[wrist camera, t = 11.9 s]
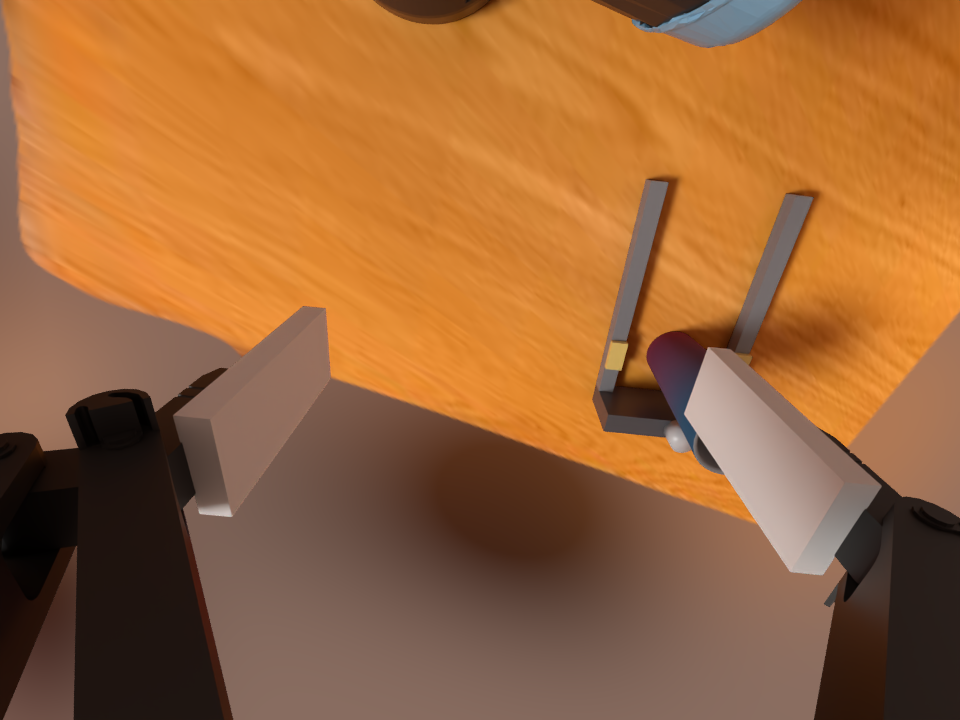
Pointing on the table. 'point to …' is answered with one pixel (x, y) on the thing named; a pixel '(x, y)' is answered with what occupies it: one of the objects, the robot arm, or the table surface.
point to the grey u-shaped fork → (626, 404)
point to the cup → (680, 383)
